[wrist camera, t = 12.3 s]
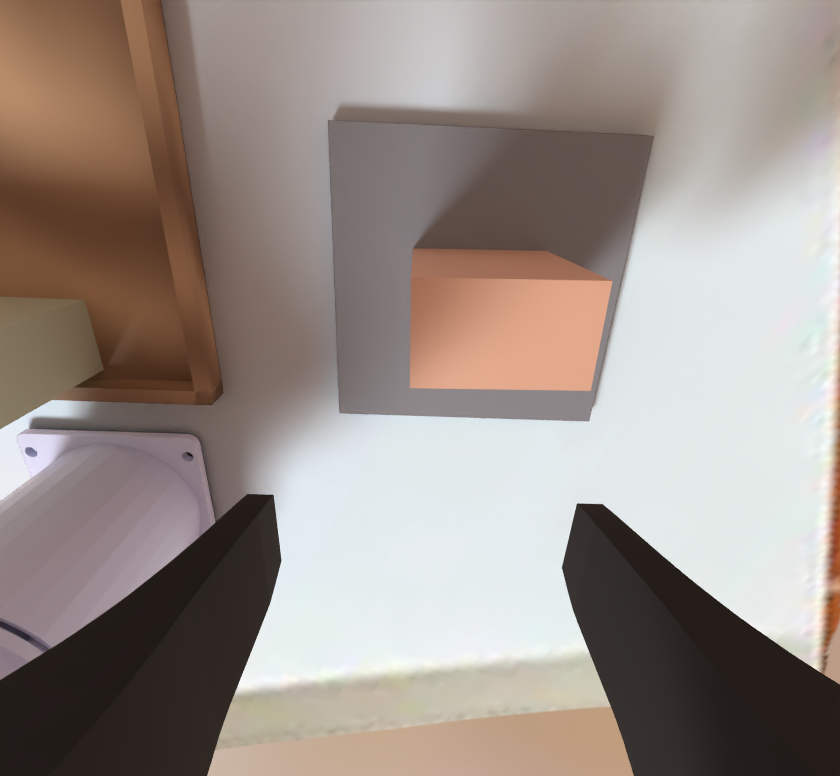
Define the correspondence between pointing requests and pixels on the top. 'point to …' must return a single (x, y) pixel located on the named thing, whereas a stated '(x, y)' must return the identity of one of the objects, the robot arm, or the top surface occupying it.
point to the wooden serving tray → (104, 193)
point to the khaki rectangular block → (43, 352)
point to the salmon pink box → (504, 320)
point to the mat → (465, 241)
